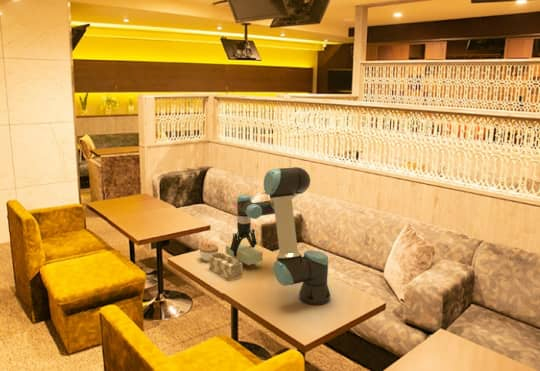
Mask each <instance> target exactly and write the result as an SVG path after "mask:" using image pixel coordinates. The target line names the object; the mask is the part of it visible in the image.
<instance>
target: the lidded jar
mask: <svg viewBox="0 0 540 371" xmlns="http://www.w3.org/2000/svg"><path fill="white" fill-rule="evenodd" d="M217 253H219V246H218V245H216V244H212V243H209V244H202V245H200V246H199V254H200V257H201V259H202V260H203V261H204V262H207V263H209V255H213V254H217Z"/></svg>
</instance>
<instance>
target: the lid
mask: <svg viewBox="0 0 540 371" xmlns="http://www.w3.org/2000/svg"><path fill="white" fill-rule="evenodd" d="M231 244H232V243H230V244H226V245H225V255H227V256H229V257H231V258H234V255H233V251H232V250H230V248H231ZM249 246H250V245H247V244H245V243H242V242H241V243H240V245H239V247H238V250H237V251H238V261H239V262H241V263H242V264H243V263H244V264H245V265H247V266H251V265H253V264H257V263H260V262H263V257H264V256H263V255H264V252H263V251H260V250H258V249H255V247H254V248H252V247H249Z"/></svg>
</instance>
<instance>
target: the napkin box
mask: <svg viewBox="0 0 540 371" xmlns="http://www.w3.org/2000/svg"><path fill="white" fill-rule="evenodd" d="M208 266H209V267H208V268H209V270H210V271H212V272H214V273H215V274H217V275H219V276H220V277H222V278H224V279H226V280H227V281H229V282H232V281H235V280H238V279H242V278H243V262H241V261H240V260H238V261H237V260H235V259H234V257H232V256H230V255H228V254H226V253H223V252H218V253H217V254H213V255H209V262H208Z"/></svg>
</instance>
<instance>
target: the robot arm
mask: <svg viewBox="0 0 540 371" xmlns="http://www.w3.org/2000/svg"><path fill="white" fill-rule="evenodd" d="M310 185H311V177H310V174H309V173H308V172H307V170H306V169H304V168H301V167H297V166H296V167H295V166H294V167H284V168H283V167H281V168H279V167H278V168H273V169H269V170H268V171H266V173H265V176H264V178H263V191H264V193H265V194H266V195H268V196H269V199H270V200H267V201H258V202H256V201H255V202H253V201H252V197H251V195H250V194H239V195H238V196H237V199H236V203H237V204H236V212H237V214H236V215H237V216H236V218H237V219H236V221H237V223H236V225H237V226H236V227H237V232H233V233H232V240H231V243H230V244H231V248H230V250H232V251H233V255H234V257H233V259H235V260H237V261H239V260H238V251H237V250H238V247H239V245H240V243H242V241H243V239H247V241H248V244H249V245H248V246H249V247H252V248H254V249H255V247H256V246H257V245H258V242H257V239H256V233H255V229H254V228H251V221H252V220H251V219H254V220H257V219H258V218H260V217H261V216H269V215H270V216H271V215H275V216H274V217H275V225H276V233H277V234H276V235H277V243H278V252H279V253H278V254H277V256H276V261H275V262H274V263H273V266H272V270H273V275H274V277H275V279H276V281H277V282H278V284H280V285H281V286H292V285H296V284H301V283H302V284H301V286H300V289H299V293H298V299H299V300H300V302H302V303H304V304H307V305H312V306H321V305H325V304H327V303H329V302H330V301H331V292H330V289H329V285H328V277H329V276H328V275H329V274H328V273H329V272H328V271H329V264H330V263H329V257H328V255H327V254H326V253H324V252H321V251H317V250H306V251H304V254H303V256H302V253H301V252H299V249H298V242H297V233H296V225H295V216H294V214H295V213H294V208H293V199H294V198H296V197H297V196H298V195H301V194H304V193H305V192H306V191H307V190H308V189H309V187H310Z"/></svg>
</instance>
